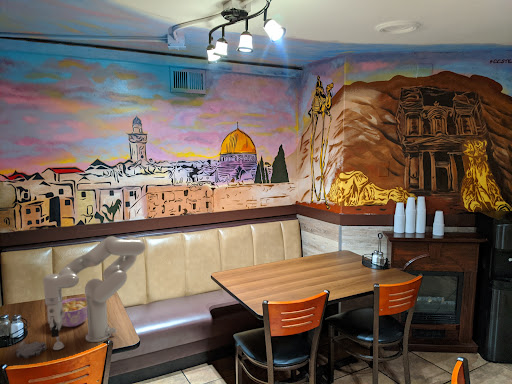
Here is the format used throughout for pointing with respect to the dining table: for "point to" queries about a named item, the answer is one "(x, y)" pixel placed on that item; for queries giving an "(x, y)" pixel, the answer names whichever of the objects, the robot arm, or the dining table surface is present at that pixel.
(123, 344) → the dining table surface
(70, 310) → the bowl of food
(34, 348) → the gear trivet
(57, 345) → the chalice
